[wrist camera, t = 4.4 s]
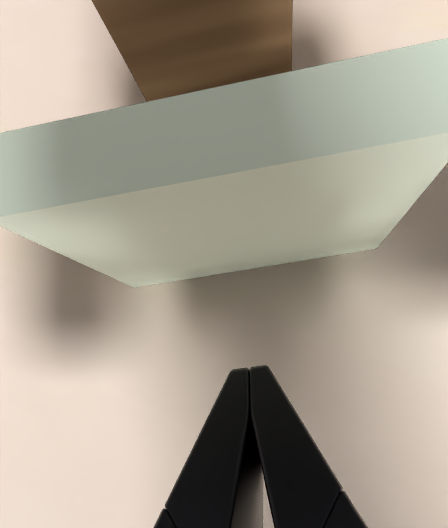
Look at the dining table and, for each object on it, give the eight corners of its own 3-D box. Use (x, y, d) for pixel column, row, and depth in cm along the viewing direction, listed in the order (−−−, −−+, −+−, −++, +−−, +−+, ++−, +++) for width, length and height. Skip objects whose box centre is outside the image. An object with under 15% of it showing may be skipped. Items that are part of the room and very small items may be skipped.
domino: (290, 136, 18) (293, -69, 9) (178, 158, 19) (82, -17, 10) (282, 96, 18) (279, -136, 10) (173, 119, 19) (78, -82, 10)
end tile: (376, 249, 16) (476, 126, 8) (134, 287, 18) (-15, 219, 9) (365, 201, 17) (448, 37, 8) (130, 242, 18) (-14, 136, 9)
